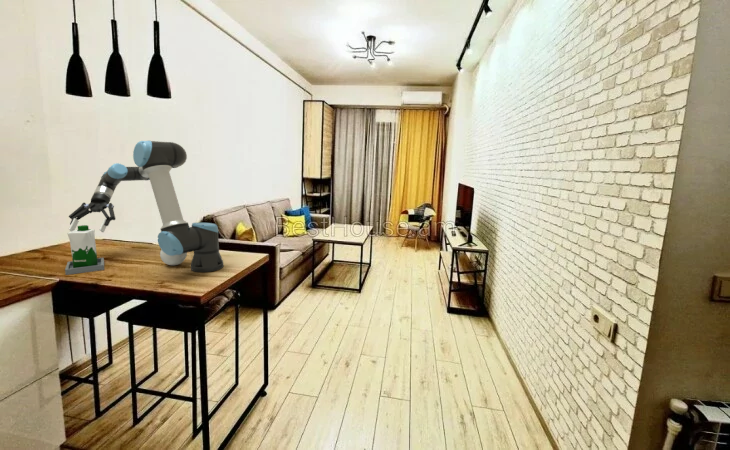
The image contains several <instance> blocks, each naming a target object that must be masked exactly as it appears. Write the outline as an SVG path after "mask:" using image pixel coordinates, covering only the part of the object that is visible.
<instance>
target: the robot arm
mask: <svg viewBox="0 0 730 450" xmlns="http://www.w3.org/2000/svg"><path fill="white" fill-rule="evenodd" d="M132 152H133V155H132V158H133V162H134V164H135V165H136V166H126V165H125V164H121V163H119V162H118V163H117V162H116V163H113V164H112V165H110V166H109V167H108V169H107V171H105V172H104V173H103V174H102V176H100V180H99V182H98V185H97V186H96V188H95V190H94V193H93V194H92V197H91V199H90V203H86V202H82V203H81V205H80V206H79V207H78V208H77V209H75V210H74V211H72V212H71V214H69V215H68V218H69V219H71V220H70V222H69V225H70V226H69V228H68V230H69V232H71V231H74V230H76V228H77V227H78V224H79V222H80V221H79V220H81V219H82V218H84V217H86V216H87V215H89V214H92V213H102V214H103V216H104V217H105V218H103V219H102V222H101V224H100V227H99V231H100V232H101V233H105V231H106V229H107V227H109V225H110V222H111V221H115V220H116V216H115V215H116V214H115V211H114V207H115V205H114V204H113V203H112V202H111V199H112V197H113V194H114V193H115V190H116V188H117V187H118V185H119V184H120V183H121V182H129V181H131V182H132V181H134V182H135V181H149V182H150V186H151V189H152V191H153V194H154V195H153V196H154V199H155V202H156V205H157V209H158V211H159V212H158V213H159V216H160V219H161V223H162V226H161V227H160V232H159V233H158V235H157V243H158V246H159V248H160V249H161V250H162V251H163V252H164V253H166V254H167V255H170V256H173V255H180V254H183V253H187V254H188V253H191V252H193V255H192V259H191V263H190V270H191V272H195V273H210V272H215V271H219V270H222V268H224V259H223V258H222V256H221V253H220V246H219V245H220V244H219V242H220V241H219V239H220V238H219V228H218V225H217V224H216V223H212V222H192V223H191V226H190V225H189V222H187V220H184V216H183V214H182V211H181V207H180V203H179V200H178V197H177V194H176V191H175V186H174V183H173V180H172V177H171V173H170V172H171V170H172V169H177V168H180V167H182V165H184V164H185V163H186V162H187V159H188V156H187V152H186V150H185V149H184V147H183V146H181V145H180V144H179V143H176V142H173V141H159V140H158V141H155V140H140V141H138V142H136V144H135V146H134V148H133V151H132ZM107 208H108V211H109V214H108V213H107V211H106V210H105V209H107ZM161 250H160V251H161Z"/></svg>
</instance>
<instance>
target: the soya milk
mask: <svg viewBox="0 0 730 450" xmlns="http://www.w3.org/2000/svg"><path fill="white" fill-rule="evenodd" d="M67 236H68V239H69V244H70V245H69V246H70V252H71V261H73V268H79V267H87V266H95V265H97V264H98V262H97V258H98V253H97V246H96V237H95V236H96V233H95V229H94V228H93V229H92V228H91V229H90V228H89V225H85V224H84V225H83V224H82V225H77V229H75V230H74V231H69V232H67Z"/></svg>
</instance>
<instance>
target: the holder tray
mask: <svg viewBox="0 0 730 450" xmlns="http://www.w3.org/2000/svg"><path fill="white" fill-rule="evenodd" d="M97 262H98V264H97V265H95V266H87V267H79V268H73V260H71V261H67V262H66V263H67V264H66V266H65V269H64V273H65V275H66V276H68V275H74V274H83V273H90V272H97V271H98V272H99V271H104V270H105V259H104V257H99V258H98V257H97Z"/></svg>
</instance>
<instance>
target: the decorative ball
mask: <svg viewBox="0 0 730 450" xmlns="http://www.w3.org/2000/svg"><path fill="white" fill-rule="evenodd" d="M159 255H160V256H159V257H160V260H161V261H162V262H163V263H164V264H166V265H168V266H178V265H181V264H182V263H183V262H184V261H186V258H187V255H188V252H187V253H183V254H180V255H173V256H170V255H167V254H166V253H164V252H163V251H162V250H160V251H159Z"/></svg>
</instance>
